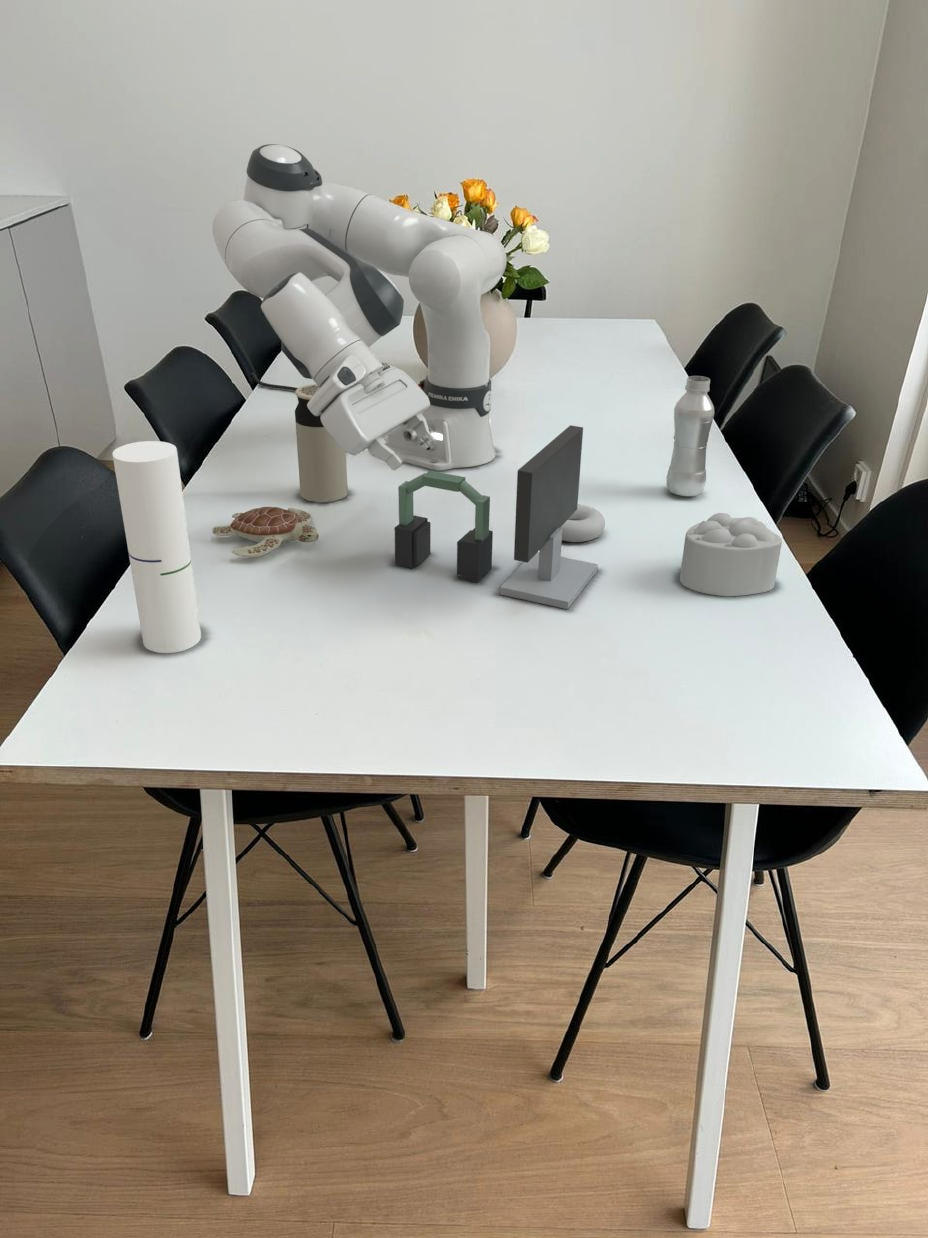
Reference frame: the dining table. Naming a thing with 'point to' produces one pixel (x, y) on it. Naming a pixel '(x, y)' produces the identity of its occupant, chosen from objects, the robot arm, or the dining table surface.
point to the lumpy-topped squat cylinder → (730, 556)
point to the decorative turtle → (269, 529)
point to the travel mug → (318, 455)
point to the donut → (583, 525)
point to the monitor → (548, 525)
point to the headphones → (416, 529)
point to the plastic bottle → (691, 438)
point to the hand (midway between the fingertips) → (415, 455)
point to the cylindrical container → (158, 544)
